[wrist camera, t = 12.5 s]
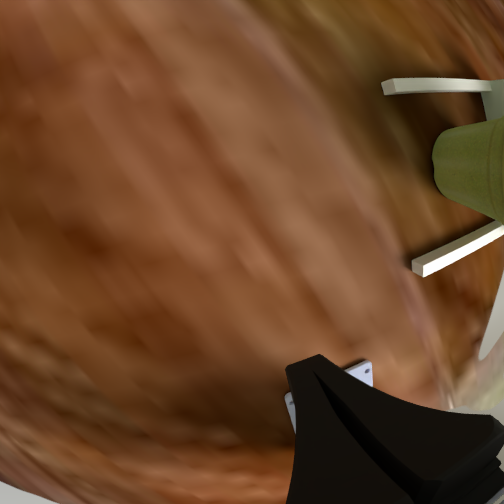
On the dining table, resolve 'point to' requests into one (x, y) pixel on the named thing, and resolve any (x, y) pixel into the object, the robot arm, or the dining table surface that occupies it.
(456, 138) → the plant pot
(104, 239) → the dining table surface
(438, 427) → the robot arm
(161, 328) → the dining table surface
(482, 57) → the dining table surface
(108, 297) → the dining table surface
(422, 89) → the display bay
